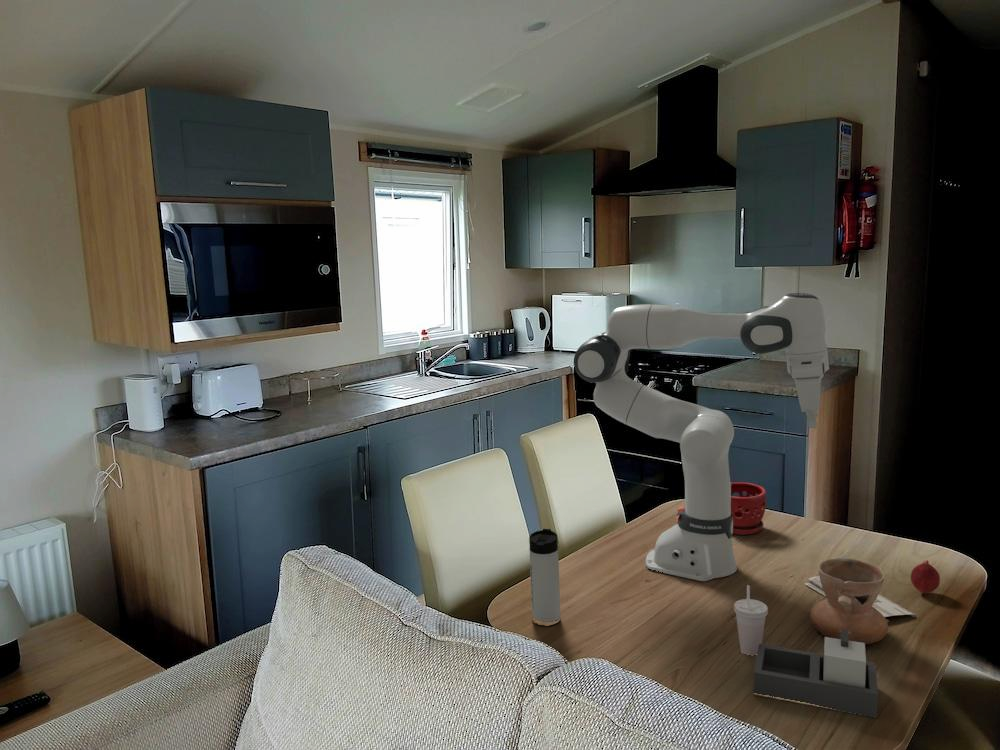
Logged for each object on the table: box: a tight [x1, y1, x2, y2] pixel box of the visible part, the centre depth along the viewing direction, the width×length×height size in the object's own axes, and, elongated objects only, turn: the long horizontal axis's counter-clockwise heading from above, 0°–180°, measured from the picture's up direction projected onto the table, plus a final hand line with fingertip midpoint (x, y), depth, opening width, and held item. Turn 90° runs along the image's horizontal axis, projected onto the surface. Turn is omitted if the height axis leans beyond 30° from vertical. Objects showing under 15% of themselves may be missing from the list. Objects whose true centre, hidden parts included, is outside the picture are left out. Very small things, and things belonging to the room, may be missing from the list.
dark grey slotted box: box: [753, 629, 879, 719], centre depth 139 cm, size 20×16×10 cm
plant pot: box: [731, 481, 767, 536], centre depth 213 cm, size 13×13×12 cm
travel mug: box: [528, 528, 561, 622], centre depth 165 cm, size 6×7×20 cm
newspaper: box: [804, 575, 917, 623], centre depth 169 cm, size 23×12×2 cm, turn 14°
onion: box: [910, 559, 941, 595], centre depth 170 cm, size 6×6×8 cm
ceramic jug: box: [810, 557, 889, 645], centre depth 155 cm, size 18×14×14 cm
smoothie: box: [733, 584, 769, 655], centre depth 149 cm, size 6×6×14 cm
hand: (813, 422), depth 173 cm, fingers open, 8 cm apart
